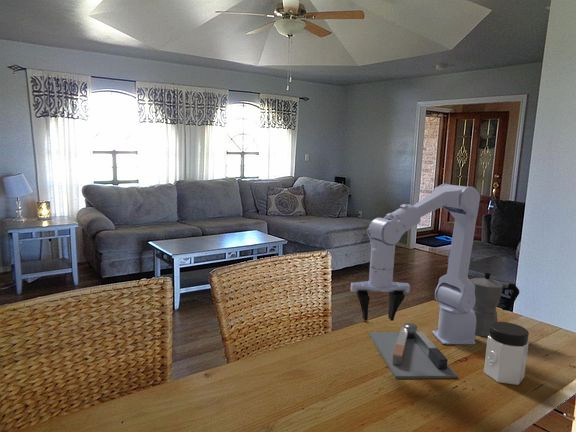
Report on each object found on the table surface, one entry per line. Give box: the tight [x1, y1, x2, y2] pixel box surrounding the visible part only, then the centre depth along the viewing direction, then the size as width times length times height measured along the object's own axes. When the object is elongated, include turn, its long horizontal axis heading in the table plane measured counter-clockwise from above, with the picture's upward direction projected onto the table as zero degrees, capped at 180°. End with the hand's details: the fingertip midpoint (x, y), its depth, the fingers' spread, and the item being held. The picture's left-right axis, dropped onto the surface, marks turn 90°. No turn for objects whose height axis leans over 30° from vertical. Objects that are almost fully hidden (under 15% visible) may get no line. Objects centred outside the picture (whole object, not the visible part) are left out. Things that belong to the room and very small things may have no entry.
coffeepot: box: [469, 272, 521, 338], centre depth 127 cm, size 15×9×18 cm, turn 70°
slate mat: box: [368, 331, 458, 379], centre depth 113 cm, size 24×15×1 cm, turn 4°
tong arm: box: [392, 322, 418, 365], centre depth 114 cm, size 20×4×3 cm, turn 159°
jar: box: [483, 321, 530, 386], centre depth 103 cm, size 9×8×12 cm
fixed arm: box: [414, 330, 448, 369], centre depth 111 cm, size 16×2×2 cm, turn 4°
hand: (377, 319), depth 109 cm, fingers open, 6 cm apart
